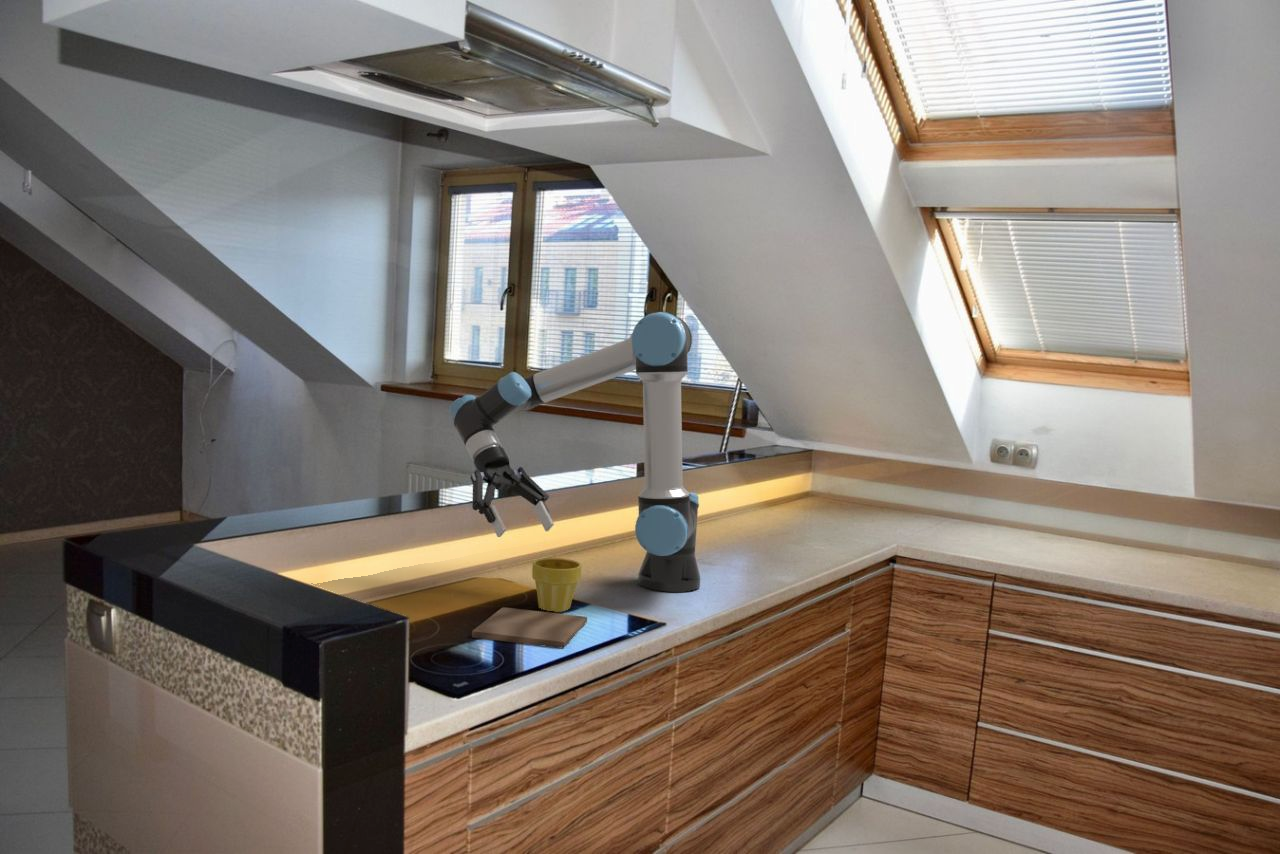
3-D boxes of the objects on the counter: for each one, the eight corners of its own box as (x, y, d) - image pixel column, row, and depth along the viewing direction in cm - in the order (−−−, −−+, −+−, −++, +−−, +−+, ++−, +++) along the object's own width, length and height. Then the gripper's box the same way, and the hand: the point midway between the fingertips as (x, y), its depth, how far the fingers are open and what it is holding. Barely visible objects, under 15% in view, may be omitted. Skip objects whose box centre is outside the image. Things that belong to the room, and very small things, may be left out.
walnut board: (586, 622, 195) (587, 616, 195) (564, 648, 177) (564, 642, 177) (502, 612, 198) (502, 607, 198) (471, 637, 180) (472, 631, 180)
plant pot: (579, 615, 199) (582, 569, 199) (529, 613, 198) (532, 567, 198) (578, 602, 210) (580, 558, 209) (531, 600, 209) (533, 556, 208)
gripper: (522, 462, 230) (560, 535, 221) (435, 467, 212) (472, 546, 203) (537, 443, 226) (577, 516, 217) (450, 446, 208) (489, 525, 199)
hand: (526, 530), depth 210 cm, fingers open, 13 cm apart
